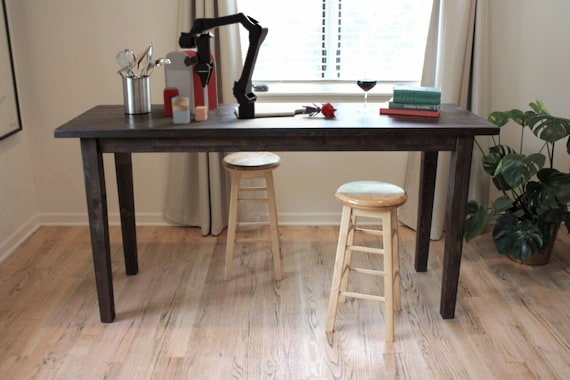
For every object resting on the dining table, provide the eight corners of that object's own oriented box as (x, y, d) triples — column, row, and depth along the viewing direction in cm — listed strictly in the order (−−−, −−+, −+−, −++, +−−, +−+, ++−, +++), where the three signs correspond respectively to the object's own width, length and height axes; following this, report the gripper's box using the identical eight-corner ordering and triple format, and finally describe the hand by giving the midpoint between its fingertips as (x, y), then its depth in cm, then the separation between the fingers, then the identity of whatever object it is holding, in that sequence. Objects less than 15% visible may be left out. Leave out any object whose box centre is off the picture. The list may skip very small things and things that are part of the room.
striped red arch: (219, 108, 284) (216, 48, 276) (194, 113, 269) (190, 51, 262) (191, 105, 292) (188, 47, 284) (166, 111, 278) (161, 50, 270)
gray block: (190, 121, 252) (189, 109, 250) (188, 123, 248) (187, 111, 247) (175, 121, 252) (174, 109, 251) (173, 123, 248) (172, 111, 247)
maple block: (189, 109, 250) (188, 97, 249) (187, 111, 247) (186, 98, 245) (174, 109, 251) (173, 97, 249) (172, 111, 247) (171, 98, 245)
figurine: (304, 113, 262) (339, 114, 259) (300, 121, 255) (336, 122, 252) (303, 99, 259) (339, 100, 256) (300, 106, 252) (336, 108, 249)
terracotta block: (198, 118, 260) (197, 106, 258) (207, 118, 259) (206, 106, 258) (195, 120, 254) (195, 108, 252) (205, 120, 254) (204, 108, 252)
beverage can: (177, 117, 262) (175, 89, 258) (162, 116, 263) (160, 88, 260) (182, 114, 268) (181, 87, 265) (168, 114, 269) (166, 86, 266)
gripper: (188, 47, 266) (190, 83, 271) (180, 50, 248) (182, 89, 253) (214, 47, 266) (215, 83, 270) (207, 50, 248) (209, 89, 253)
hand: (205, 86), depth 262 cm, fingers open, 9 cm apart
